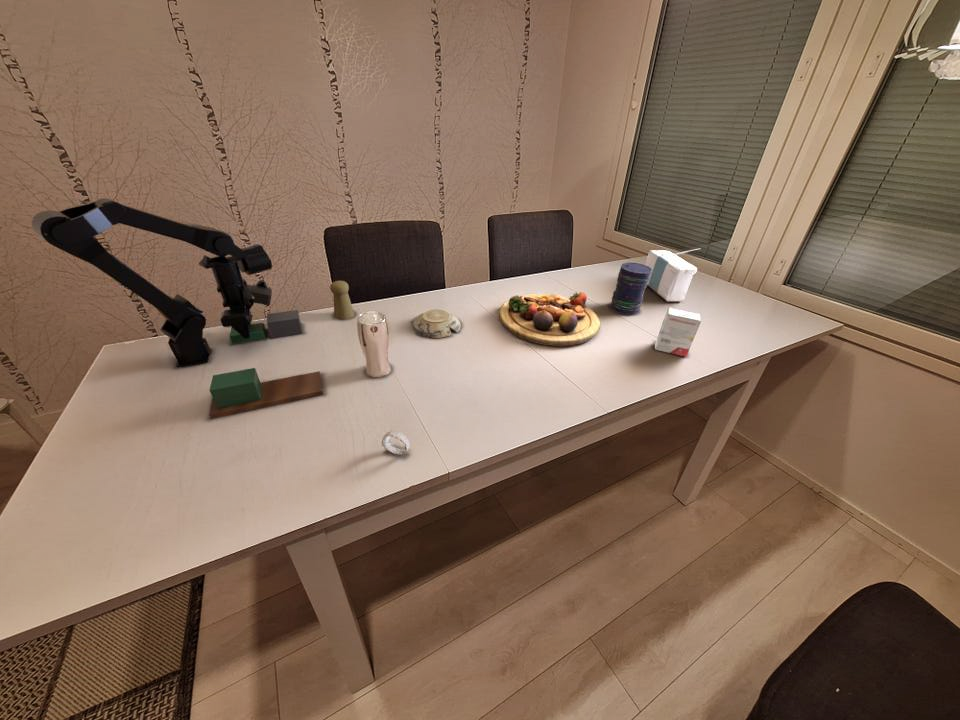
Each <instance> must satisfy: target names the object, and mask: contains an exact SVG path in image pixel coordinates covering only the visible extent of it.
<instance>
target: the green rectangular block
mask: <svg viewBox="0 0 960 720" xmlns="http://www.w3.org/2000/svg"><path fill="white" fill-rule="evenodd" d="M249 333H250V338H248V339H245V338H244V337H243V336H242V335H240V334H239V333H238V332H237V331H236V330H235V329H233V328H232V327H230V331H229V340H230V342H231V345H238V344H245V343H249V342H258V341H264V340H266V337H267V328H266V326H265V323H264V322H257V323H251V324H249Z"/></svg>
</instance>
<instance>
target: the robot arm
mask: <svg viewBox="0 0 960 720" xmlns="http://www.w3.org/2000/svg"><path fill="white" fill-rule="evenodd" d="M118 224H120V225H125V226H128V227H131V228H134V229H139V230H143V231H145V232H150V233H153V234H156V235H159V236H160V235H161V236H164V237H167V238H171V239H174V240H177V241H182V242H185V243H187V244H190V245H192V246H194V247H197V248H199V249H201V250H203V251H206V252H208V253H210V254H212V255H214V256H212V257H209V256H208V255H206V254H204V255H203V256H202V258H201V259H200V261H199V262H198V265H199V266H201V267H202V268H203V269H206V270H208V269H211V272H212V274H213V278H214V280H215V282H216V283H215V284H216V285H217V286H216V290H217V291H216V292H217V293H219V294H220V296H221V298H222V306H223V308H229V309H225V310H224V311H222V313H221V315H220V318H219V319H220V323H221V325H222V327H223V328H231V327H232V328H233V329H235V330H236V331H237V332H238V333H239V334H240V335H242V336H243V337H244V338H245V339H248V338H250V333H249V324H252V320H253V314H252V312H251V308H252V307H253V306H254V305H255V304H259V305H264V306H271V302H272V293H273V290H272V288H271V286H268V285H267V282H266V281H265V280H258V281H257V283H256V284H254V283H253V284H252V285H251V284H248V282H247V280H245V278H243V276H242V273H245V274H246V276H247V275H248V276H252V275H255V274H259V273H264V272H266V271H271V270H272V269H273V262H272V259H271V258H270V257H269V255H268V253H267V251H266V250H265V249H264V246H263V245H262V244H259V243H257V244H253V245H251V246H246V247H243V248H241V247H239V246H238V245H237V244H235V242H234V239H233V237H232V236H231V235H230V234H228V233H226V232H224V231H222V230H219V229H217V228H215V227H211V226H206V225H199V224H189V223H185V222H184V223H183V222H180V221H177V220H174V219H170V218H167V217H163V216H161V215H157V214H154V213H152V212H148V211H145V210H141V209H138V208H135V207H132V206H129V205H126V204H123V203H119V202H118V201H116V200H114V199H110V198H107V197H106V198H99V199H97V200H95V201H92V202H88V203H85V204H84V203H83V204H81V205H76V206H72V207H68V208H65V209H62V210H59V211H57V210H42V211H40V212H38V213H36V214H35V215H34V216H33V217H32V219H31V226H32V229H33V231H34V232H35V233H36V234H37V235H38V236H39V237H41V238H42V240H43V241H45V242H46V243H47V244H49V245H51V246H53V247H55V248H57V249H58V250H60V251H63V252H65V253H66V254H69V255H71V256H72V257H75V258H77V259H80V260H82V261H84V262H86V263H88V264H90V265H92V266H94V267H95V268H97V269H98V270H99V271H100V272H103V273H104V274H106V275H107V276H109V277H110V278H112V279H113V280H114V281H116V282H117V283H119V284H120V285H121V286H123V287H125V288H127V290H129V291H130V292H132V293H134V294H135V295H137V296H138V297H140V298H141V299H142V300H144V301H145V302H147V303H148V304H150V305H151V306H153V308H155V310H156V311H157V312H158V313H159V314H160V315H162V316H163V318H165V321H164V322H163V324H162V326H161V327H160V332H162V334H163V335H165V336H166V337H168V338H169V339H168V342H167V344H168V346H169V348H170V350H171V352H172V355H173V356H174V358H175V360H176V364H175V367H176V368H182V367H183V368H184V367H189V366H194V365H200V364H201V365H202V364H205V363H208V362H209V358H210V357H211V353H212V349H211V347H210V345H209V343H208V340H207V338H206V337H204V329H205V328H206V325H207V318H206V317H205V316H204V315H203V313H204V311H203V310H202V309H200V308H199V307H197V306H195V305H194V304H193V303H192V302H191V301H189V300H188V299H187V298H185V297H184V296H182V295H180V294H179V293H177V294H176V295H174V297H172V296H170V295H168V294H166V293H165V292H164V291H162V290H161V289H160V288H158V287H157V286H155V285H154V284H152V283H151V282H150V281H149V280H147V279H146V278H145V277H143V276H142V275H141V274H139V273H137V272H136V271H135V270H133V269H132V268H131V267H130V266H128V265H127V264H125V263H124V262H122V261H121V260H119V258H117V257H116V256H114V255H113V254H112V253H110V252H109V251H108V250H107V249H106V248H105V247H104V246H103V245H102V244H101V243H100V242H99V240H98V239H96V236H98V235H100V234H102V233H103V232H105V231H106V230H108V229H109V228H111V227H113V226H116V225H118Z"/></svg>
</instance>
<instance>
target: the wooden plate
mask: <svg viewBox="0 0 960 720" xmlns="http://www.w3.org/2000/svg"><path fill="white" fill-rule="evenodd" d="M587 299H588V297H587V294H586V293H585V292H583V291H582V292H581V291H579V292H574V293H572V295H569V297H568V298H567V297H565V296H561V295H559V294H546V293H545V294H542V293H531V294H524V295H513V296H511V297H510V298H509V300H507V301H506V302H504V303H503V304H502V305H501V307H500V309H499V314H498V317H499V320H500V322H501V323H502V325H503V326H504V328H505V329H506V330H508V331H509V332H510V333H511V334H513V335H514V336H516V337H519V338H521V339H523V340H526V341H528V342H532V343H535V344H540V345H545V346H546V345H547V346H553V347H554V346H555V347H556V346H558V347H562V346H564V347H565V346H566V347H567V346H575V345H579V344H583V343H586V342H588V341H590V340H592V339H593V338H594V337H596V336H597V334H598V333H599V331H600V328H601V321H600V318H599V316H598V315H597V314H596V313H595V312H594V310H593V309H591V308H590V307H588V306H586V303H587Z"/></svg>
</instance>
